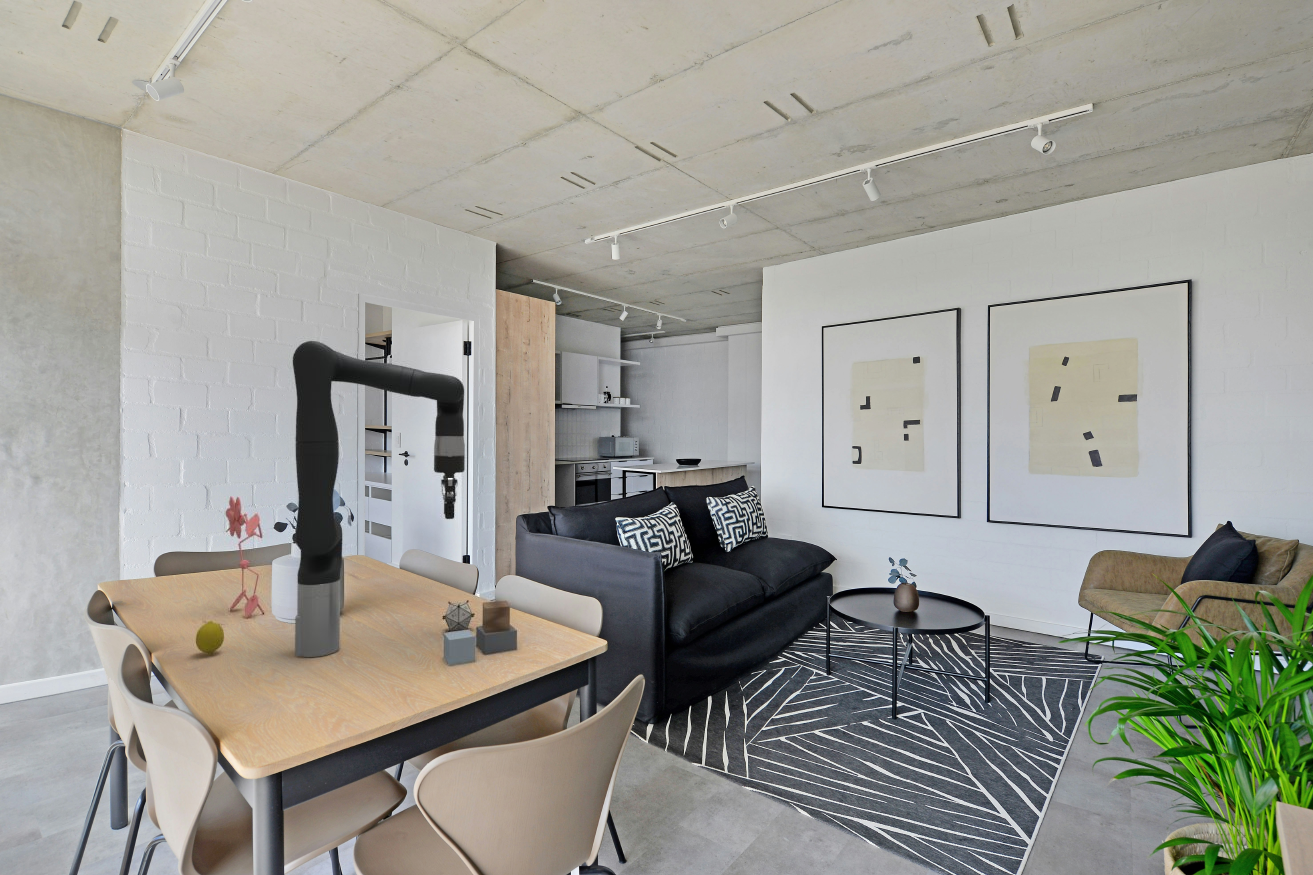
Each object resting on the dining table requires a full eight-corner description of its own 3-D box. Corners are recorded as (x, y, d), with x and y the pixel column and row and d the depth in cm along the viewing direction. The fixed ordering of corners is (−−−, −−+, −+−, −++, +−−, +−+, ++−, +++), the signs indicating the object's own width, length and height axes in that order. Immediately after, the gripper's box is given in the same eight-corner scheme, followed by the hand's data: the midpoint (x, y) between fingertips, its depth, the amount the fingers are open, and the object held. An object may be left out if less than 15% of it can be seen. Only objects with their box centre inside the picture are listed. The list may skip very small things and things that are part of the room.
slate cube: (448, 666, 145) (449, 640, 145) (443, 658, 150) (443, 632, 150) (475, 661, 148) (475, 636, 148) (468, 653, 153) (469, 629, 153)
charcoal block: (484, 655, 153) (484, 635, 153) (476, 646, 159) (476, 626, 159) (516, 650, 157) (517, 630, 157) (507, 641, 163) (507, 622, 163)
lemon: (193, 659, 148) (193, 625, 147) (198, 652, 152) (198, 619, 152) (222, 656, 150) (222, 622, 150) (225, 649, 155) (225, 616, 155)
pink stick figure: (247, 602, 198) (245, 491, 197) (278, 618, 181) (276, 497, 180) (188, 613, 186) (186, 495, 186) (214, 632, 169) (212, 502, 169)
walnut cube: (484, 632, 154) (485, 608, 154) (482, 626, 160) (482, 602, 160) (509, 630, 156) (509, 606, 156) (506, 623, 162) (506, 600, 162)
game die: (461, 646, 170) (462, 623, 164) (434, 633, 171) (434, 609, 165) (480, 622, 177) (482, 599, 171) (454, 609, 178) (455, 586, 173)
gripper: (433, 453, 168) (433, 514, 168) (434, 454, 155) (434, 520, 155) (462, 453, 171) (462, 513, 171) (466, 454, 157) (465, 519, 157)
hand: (448, 516), depth 163 cm, fingers open, 8 cm apart
